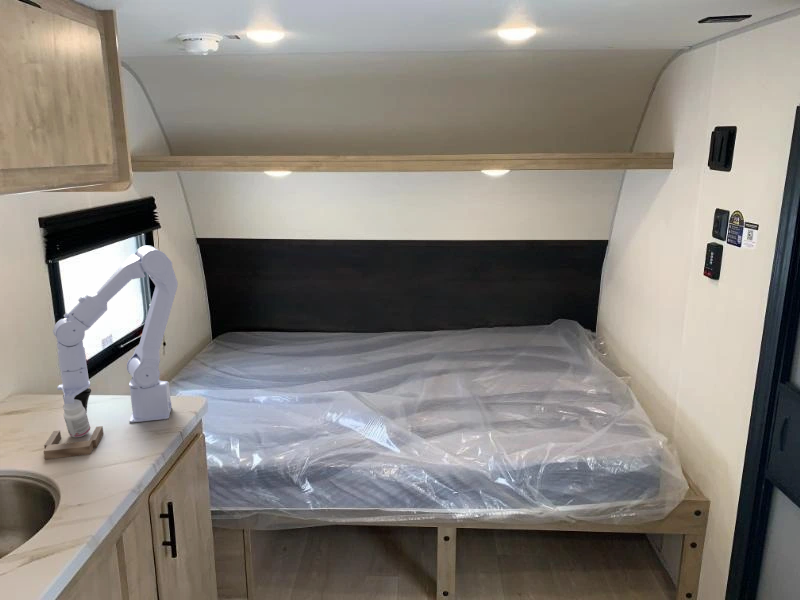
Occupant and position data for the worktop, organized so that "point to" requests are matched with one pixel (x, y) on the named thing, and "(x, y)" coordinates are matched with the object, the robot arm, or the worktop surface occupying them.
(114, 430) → the worktop surface
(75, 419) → the pill bottle
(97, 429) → the notched board
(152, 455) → the worktop surface
